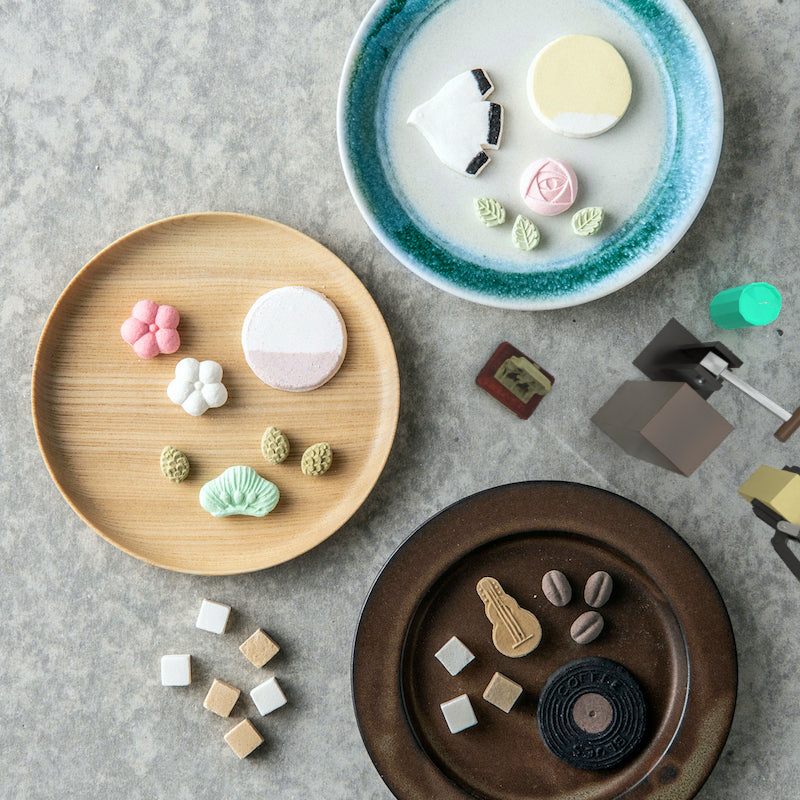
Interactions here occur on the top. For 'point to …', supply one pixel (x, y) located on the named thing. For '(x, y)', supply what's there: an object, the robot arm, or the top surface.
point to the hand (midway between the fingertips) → (769, 486)
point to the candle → (746, 306)
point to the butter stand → (663, 424)
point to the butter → (775, 491)
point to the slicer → (683, 359)
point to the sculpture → (514, 380)
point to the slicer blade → (754, 396)
